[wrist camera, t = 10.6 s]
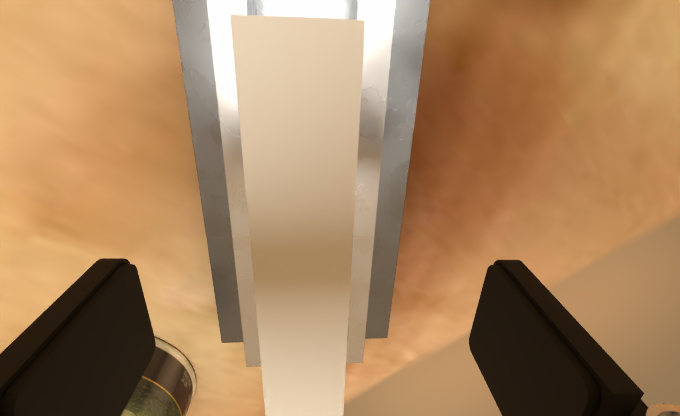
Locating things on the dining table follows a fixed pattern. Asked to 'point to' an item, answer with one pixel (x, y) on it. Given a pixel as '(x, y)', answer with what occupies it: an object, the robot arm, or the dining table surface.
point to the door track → (372, 163)
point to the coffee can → (163, 385)
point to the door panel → (300, 198)
